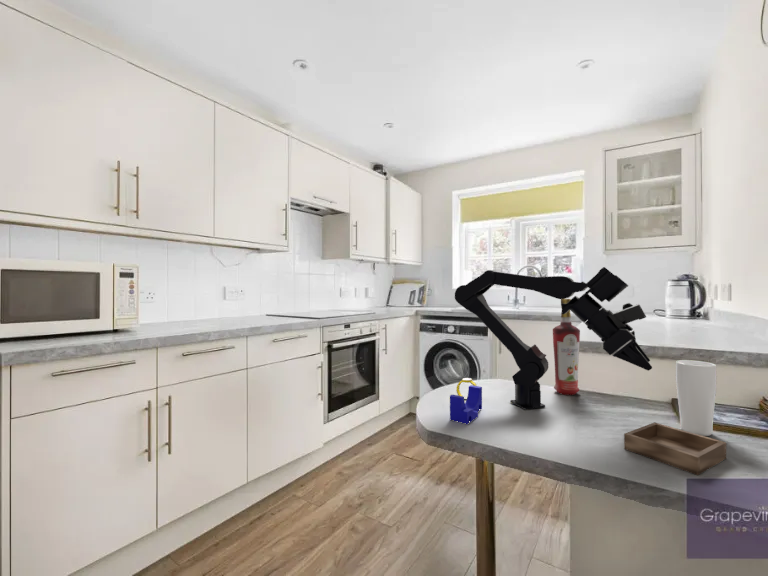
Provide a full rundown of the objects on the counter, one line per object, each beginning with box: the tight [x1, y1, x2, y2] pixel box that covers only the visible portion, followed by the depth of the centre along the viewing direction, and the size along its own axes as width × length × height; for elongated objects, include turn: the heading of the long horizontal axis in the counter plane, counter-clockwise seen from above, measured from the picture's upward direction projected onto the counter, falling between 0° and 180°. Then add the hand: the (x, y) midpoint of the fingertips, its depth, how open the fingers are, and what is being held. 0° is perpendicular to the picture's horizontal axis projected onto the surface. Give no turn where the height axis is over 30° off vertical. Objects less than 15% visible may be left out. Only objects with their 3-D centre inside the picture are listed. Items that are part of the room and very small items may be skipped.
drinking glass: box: [675, 359, 718, 437], centre depth 79 cm, size 7×7×15 cm
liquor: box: [552, 298, 581, 396], centre depth 109 cm, size 7×7×28 cm
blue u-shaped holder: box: [449, 384, 483, 425], centre depth 91 cm, size 12×4×6 cm, turn 142°
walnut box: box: [623, 422, 727, 476], centre depth 69 cm, size 12×12×3 cm
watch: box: [456, 377, 478, 396], centre depth 103 cm, size 6×3×6 cm, turn 57°
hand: (649, 365), depth 84 cm, fingers open, 9 cm apart
